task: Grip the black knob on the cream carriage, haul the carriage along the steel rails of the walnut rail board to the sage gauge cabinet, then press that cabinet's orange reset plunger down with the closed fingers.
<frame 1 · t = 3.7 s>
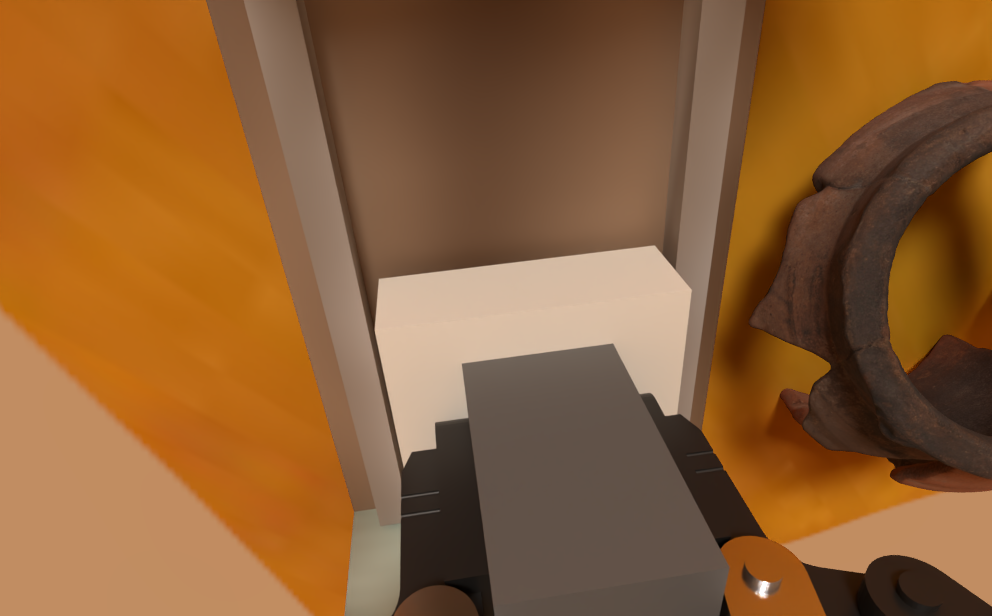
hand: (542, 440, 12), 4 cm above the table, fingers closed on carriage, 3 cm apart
rail base: (502, 164, 14), on the table
pottery mug: (896, 259, 17), on the table
carriage: (556, 483, 11), point 6 cm above the table, slide at 4.5 cm, touching gripper
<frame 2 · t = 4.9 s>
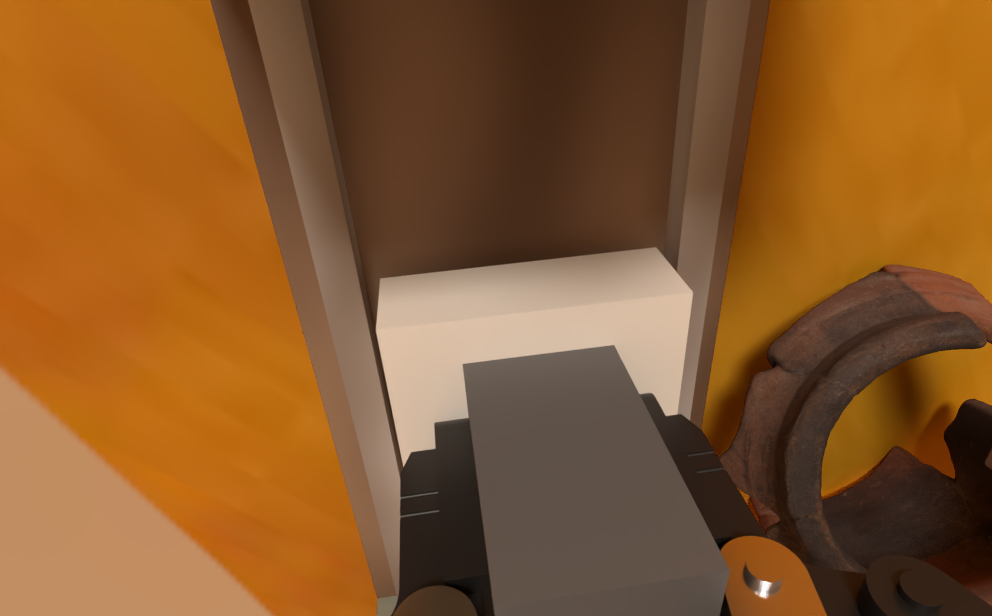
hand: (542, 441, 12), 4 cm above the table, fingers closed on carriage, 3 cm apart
rail base: (512, 317, 16), on the table
pottery mug: (849, 388, 19), on the table
carriage: (555, 484, 11), point 5 cm above the table, slide at 0.3 cm, touching gripper
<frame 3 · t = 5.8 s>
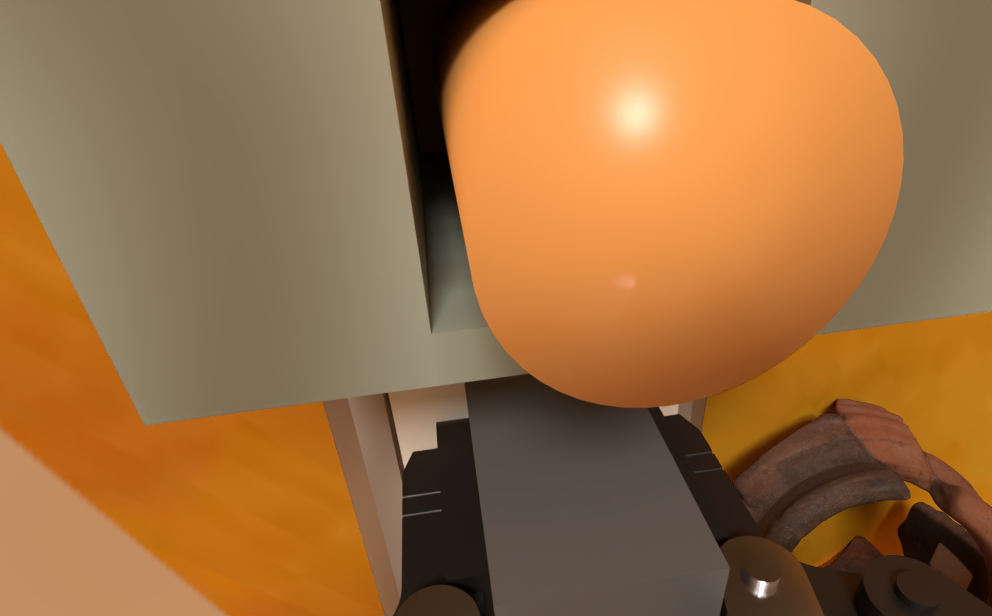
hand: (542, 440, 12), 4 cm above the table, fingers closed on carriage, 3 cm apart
rail base: (520, 443, 18), on the table
pottery mug: (814, 490, 22), on the table
reset plunger: (575, 121, 6), point 7 cm above the table, slide at 0.0 cm
carriage: (556, 482, 11), point 6 cm above the table, slide at -4.3 cm, touching gripper
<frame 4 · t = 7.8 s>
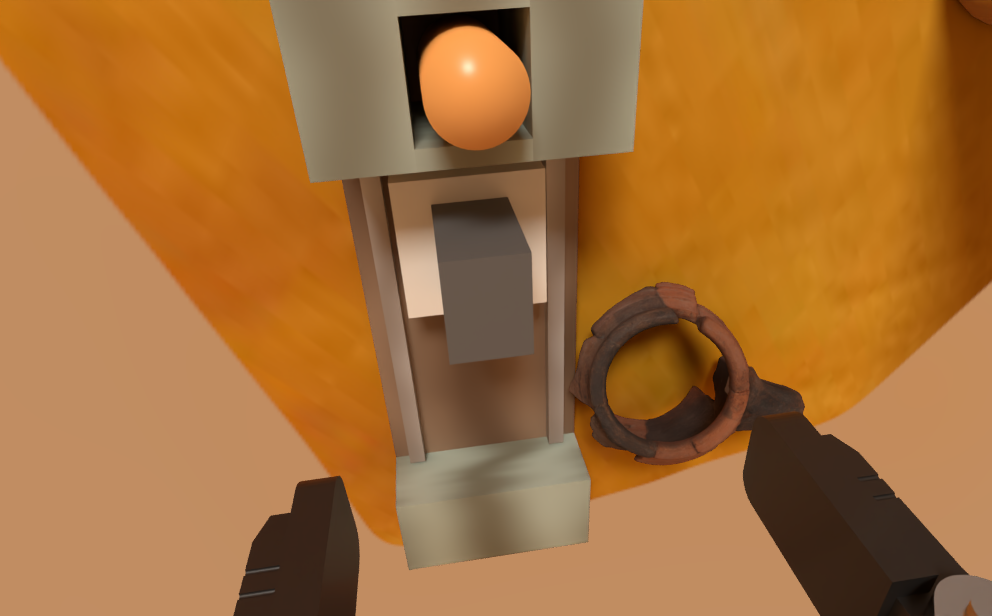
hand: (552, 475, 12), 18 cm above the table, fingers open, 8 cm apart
rail base: (471, 292, 30), on the table
pottery mug: (659, 351, 34), on the table
reset plunger: (466, 75, 18), point 7 cm above the table, slide at 0.0 cm
carriage: (477, 264, 23), point 5 cm above the table, slide at -4.4 cm
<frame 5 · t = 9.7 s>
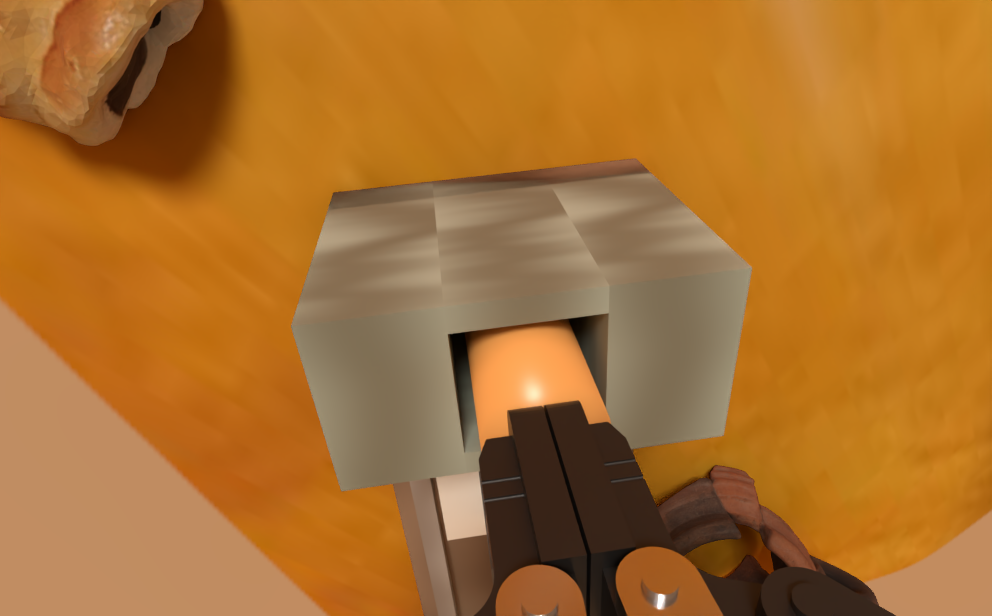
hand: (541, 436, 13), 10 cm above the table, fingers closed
rail base: (512, 475, 27), on the table
pottery mug: (711, 523, 31), on the table
reset plunger: (523, 356, 15), point 7 cm above the table, slide at 0.3 cm, touching gripper
carriage: (528, 506, 20), point 6 cm above the table, slide at -4.4 cm
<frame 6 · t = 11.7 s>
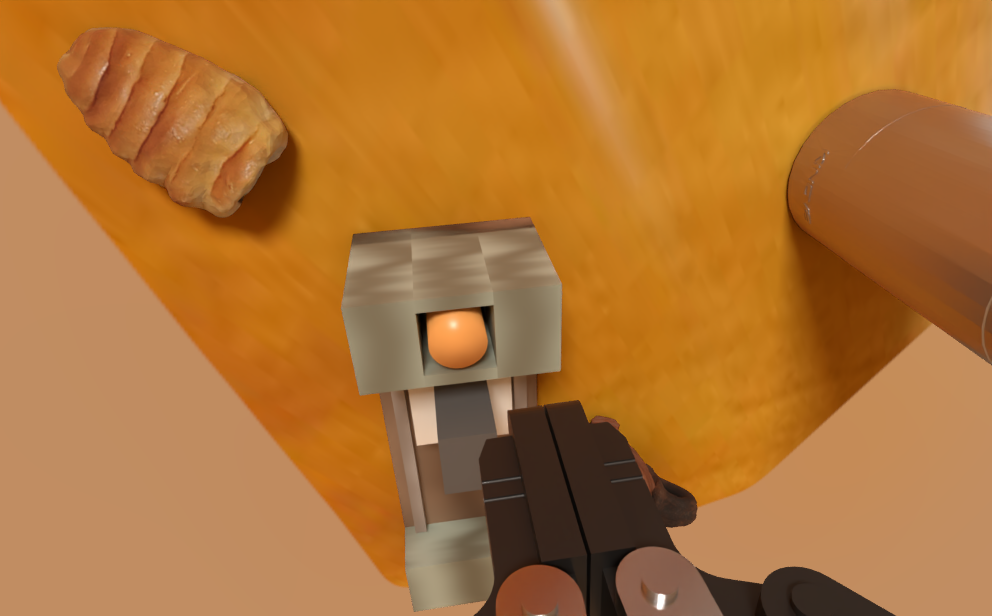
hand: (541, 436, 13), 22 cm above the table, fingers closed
rail base: (461, 413, 41), on the table
pastry: (196, 122, 30), on the table
pottery mug: (599, 458, 46), on the table
reset plunger: (453, 311, 31), point 5 cm above the table, slide at 1.8 cm
carriage: (464, 419, 34), point 6 cm above the table, slide at -4.4 cm
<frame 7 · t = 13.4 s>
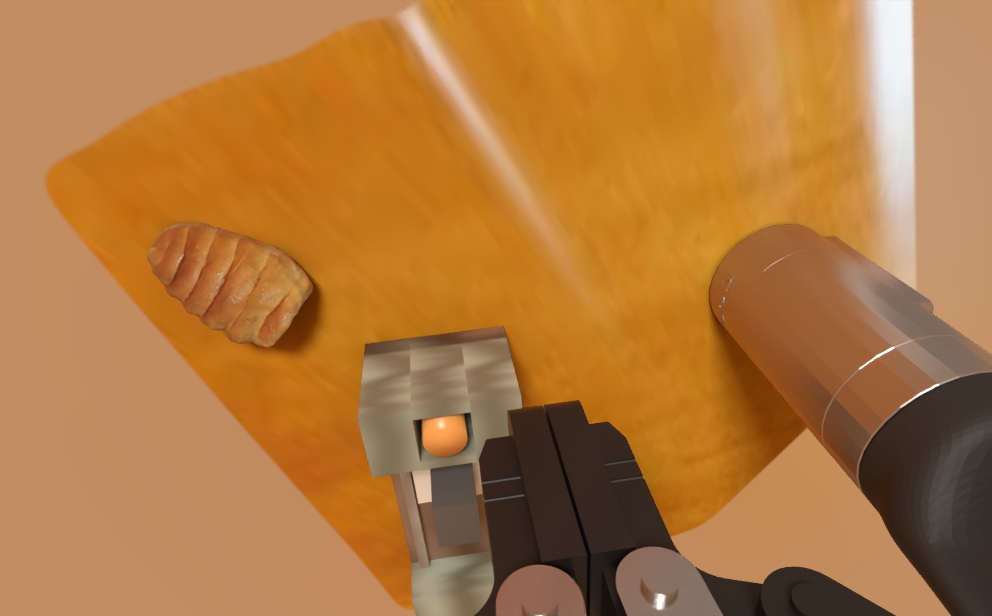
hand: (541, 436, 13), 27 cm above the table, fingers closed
rail base: (455, 471, 50), on the table
pastry: (244, 277, 39), on the table
reset plunger: (442, 408, 40), point 5 cm above the table, slide at 1.8 cm
carriage: (454, 485, 43), point 5 cm above the table, slide at -4.4 cm
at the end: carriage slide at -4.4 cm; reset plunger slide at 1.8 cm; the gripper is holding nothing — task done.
